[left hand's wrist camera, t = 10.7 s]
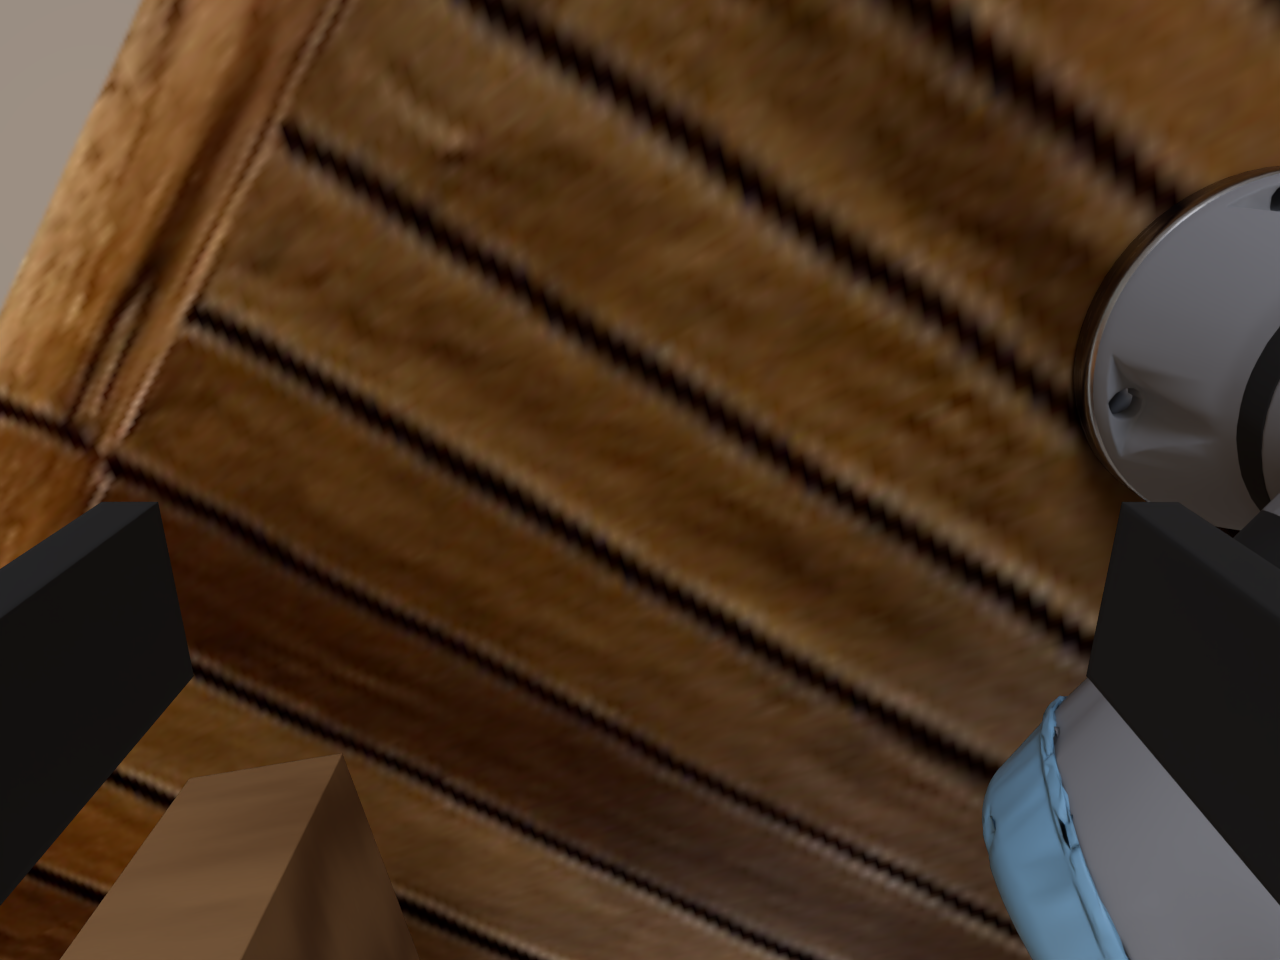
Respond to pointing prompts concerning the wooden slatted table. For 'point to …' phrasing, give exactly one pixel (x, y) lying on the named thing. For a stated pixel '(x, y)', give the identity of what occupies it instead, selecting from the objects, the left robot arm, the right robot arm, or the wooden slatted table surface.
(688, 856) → the wooden slatted table surface
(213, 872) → the box
